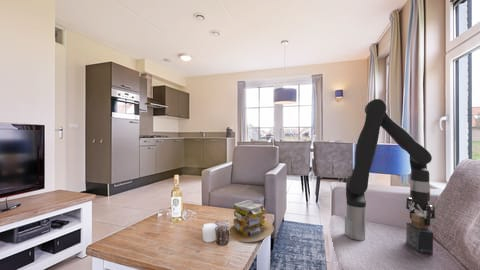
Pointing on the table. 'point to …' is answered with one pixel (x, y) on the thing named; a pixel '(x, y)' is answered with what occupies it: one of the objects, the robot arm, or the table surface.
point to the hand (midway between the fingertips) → (419, 222)
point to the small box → (420, 239)
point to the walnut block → (418, 221)
